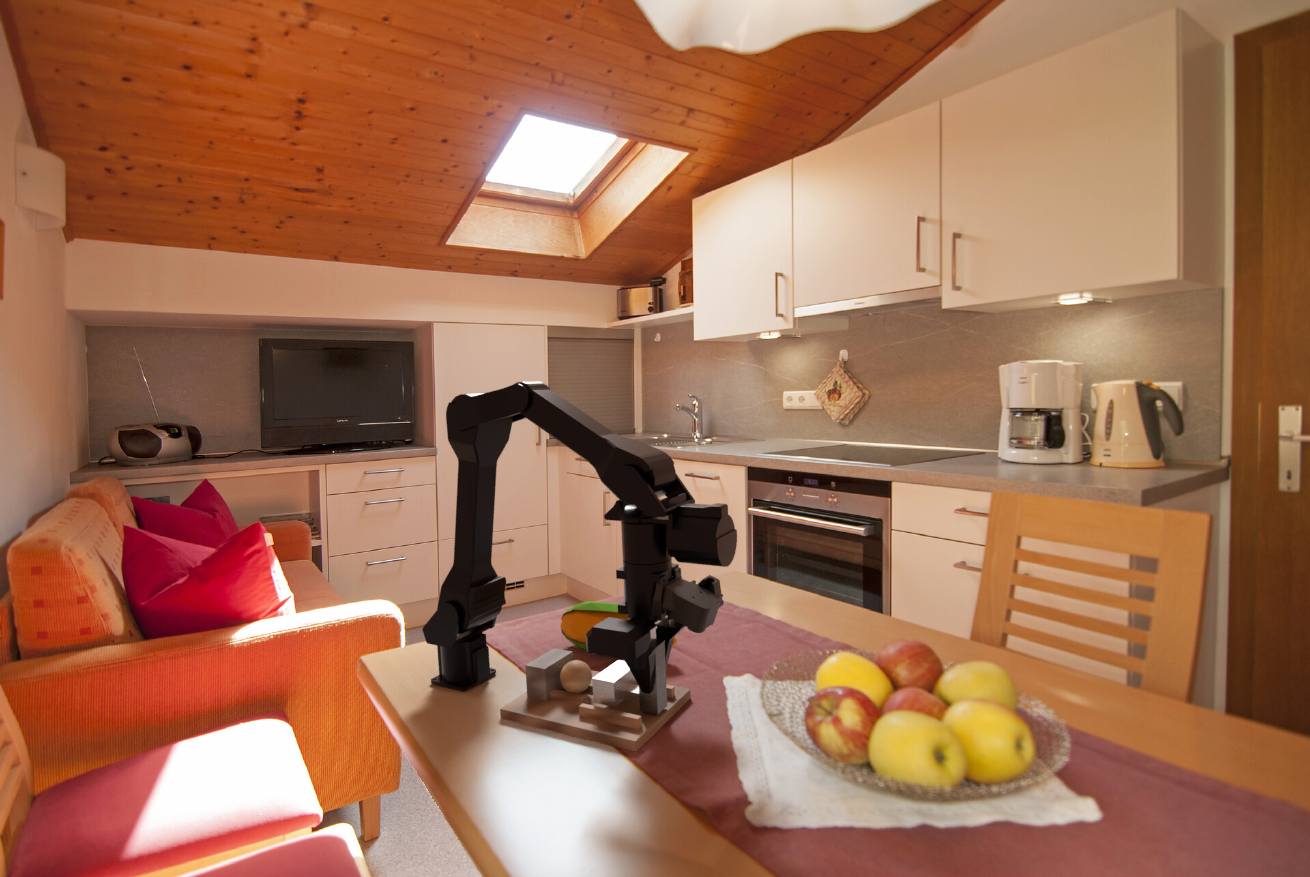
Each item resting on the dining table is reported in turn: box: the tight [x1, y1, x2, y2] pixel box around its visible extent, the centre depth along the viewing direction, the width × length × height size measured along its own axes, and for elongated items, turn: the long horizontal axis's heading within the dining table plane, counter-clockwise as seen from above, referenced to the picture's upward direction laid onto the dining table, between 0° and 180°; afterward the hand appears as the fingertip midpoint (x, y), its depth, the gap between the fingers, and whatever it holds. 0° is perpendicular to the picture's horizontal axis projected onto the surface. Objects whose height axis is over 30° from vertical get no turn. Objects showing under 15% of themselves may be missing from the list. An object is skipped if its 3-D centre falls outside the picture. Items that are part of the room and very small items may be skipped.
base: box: [499, 647, 692, 752], centre depth 87 cm, size 19×14×5 cm
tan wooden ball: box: [560, 659, 592, 694], centre depth 88 cm, size 4×4×4 cm
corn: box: [560, 600, 678, 650], centre depth 105 cm, size 7×8×20 cm
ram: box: [592, 642, 667, 715], centre depth 84 cm, size 8×6×8 cm
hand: (652, 687), depth 83 cm, fingers closed on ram, 2 cm apart
